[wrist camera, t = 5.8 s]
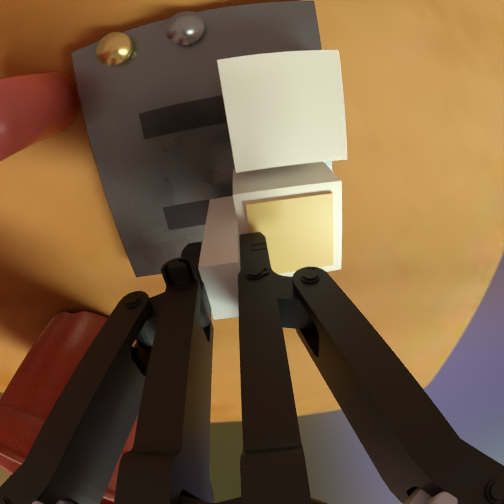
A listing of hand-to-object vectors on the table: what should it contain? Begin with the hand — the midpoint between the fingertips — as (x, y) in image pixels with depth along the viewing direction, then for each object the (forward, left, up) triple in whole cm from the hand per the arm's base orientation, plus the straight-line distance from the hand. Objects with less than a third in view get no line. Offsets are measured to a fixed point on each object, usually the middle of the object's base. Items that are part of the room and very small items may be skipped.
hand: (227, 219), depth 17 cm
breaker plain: (+4, +6, -1) cm, 7 cm away
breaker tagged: (+3, 0, -1) cm, 3 cm away
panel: (0, +4, -3) cm, 5 cm away
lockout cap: (-10, +10, -3) cm, 14 cm away
